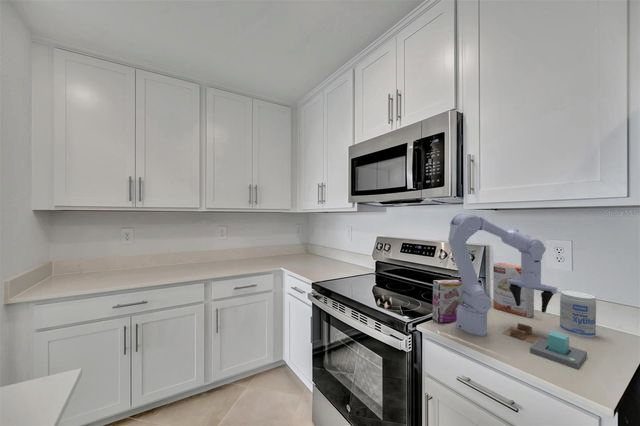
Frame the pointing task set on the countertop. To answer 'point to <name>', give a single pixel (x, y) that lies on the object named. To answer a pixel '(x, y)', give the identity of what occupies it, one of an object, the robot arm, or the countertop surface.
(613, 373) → the countertop surface
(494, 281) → the cracker box
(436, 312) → the candy bar box
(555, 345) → the plug
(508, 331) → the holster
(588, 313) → the supplement tub
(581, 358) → the port
